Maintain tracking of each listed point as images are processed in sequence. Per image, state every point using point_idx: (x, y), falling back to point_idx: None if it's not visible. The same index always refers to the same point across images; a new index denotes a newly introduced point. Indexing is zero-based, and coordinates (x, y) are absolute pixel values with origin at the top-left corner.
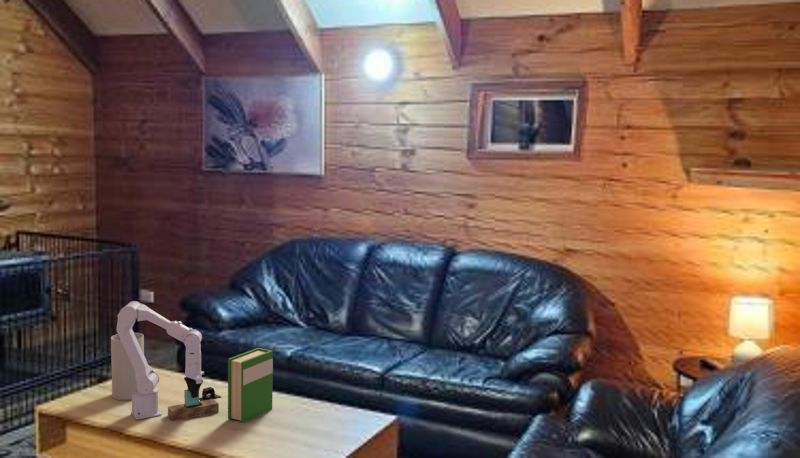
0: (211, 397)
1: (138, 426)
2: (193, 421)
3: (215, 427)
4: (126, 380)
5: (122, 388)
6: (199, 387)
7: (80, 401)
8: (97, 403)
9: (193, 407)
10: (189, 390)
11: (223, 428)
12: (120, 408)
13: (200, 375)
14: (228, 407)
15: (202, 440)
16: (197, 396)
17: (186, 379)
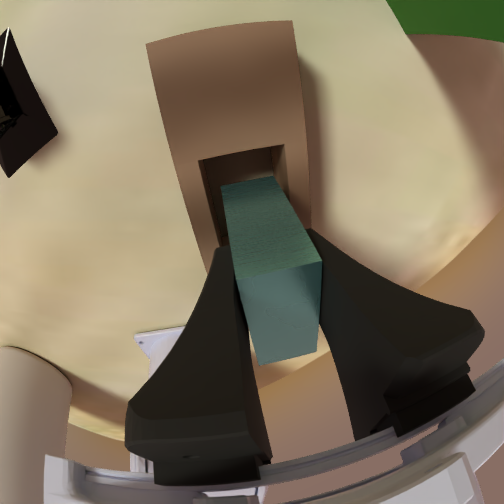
0: (7, 83)
1: (294, 359)
2: (353, 198)
3: (452, 125)
4: (61, 437)
5: (67, 418)
6: (390, 287)
7: (91, 420)
8: (97, 410)
9: (301, 217)
10: (293, 336)
11: (470, 101)
12: (128, 391)
13: (487, 434)
14: (462, 34)
15: (491, 199)
16: (315, 232)
17: (272, 455)
